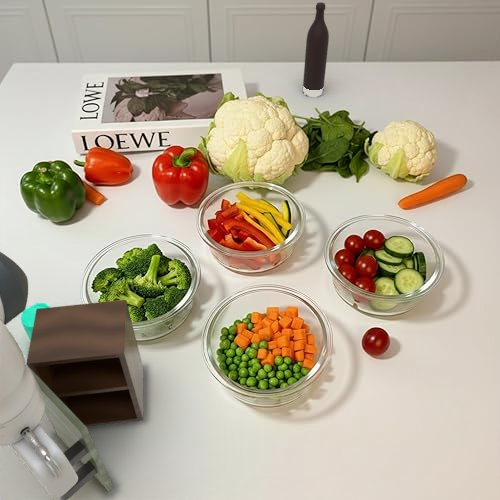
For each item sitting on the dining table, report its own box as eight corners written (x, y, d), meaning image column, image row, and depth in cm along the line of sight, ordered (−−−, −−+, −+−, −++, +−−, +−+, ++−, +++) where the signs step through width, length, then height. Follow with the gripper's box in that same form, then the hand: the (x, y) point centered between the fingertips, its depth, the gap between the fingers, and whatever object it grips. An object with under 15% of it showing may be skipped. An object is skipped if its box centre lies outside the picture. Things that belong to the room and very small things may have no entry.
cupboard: (143, 420, 101) (124, 353, 85) (61, 430, 100) (26, 363, 84) (143, 370, 109) (126, 299, 93) (67, 378, 107) (36, 308, 92)
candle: (65, 331, 115) (50, 295, 107) (64, 355, 111) (49, 319, 103) (36, 336, 114) (18, 300, 106) (34, 360, 110) (16, 324, 102)
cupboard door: (77, 522, 88) (41, 465, 73) (26, 461, 95) (-16, 398, 80) (113, 488, 92) (86, 427, 77) (62, 432, 99) (28, 366, 84)
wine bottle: (325, 90, 188) (335, 1, 167) (319, 100, 183) (328, 9, 162) (306, 86, 190) (313, -2, 169) (299, 96, 185) (306, 6, 164)
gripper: (76, 443, 62) (99, 490, 72) (-14, 342, 72) (16, 396, 81) (27, 484, 59) (58, 528, 69) (-61, 373, 68) (-23, 425, 78)
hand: (35, 455), depth 75 cm, fingers open, 8 cm apart
